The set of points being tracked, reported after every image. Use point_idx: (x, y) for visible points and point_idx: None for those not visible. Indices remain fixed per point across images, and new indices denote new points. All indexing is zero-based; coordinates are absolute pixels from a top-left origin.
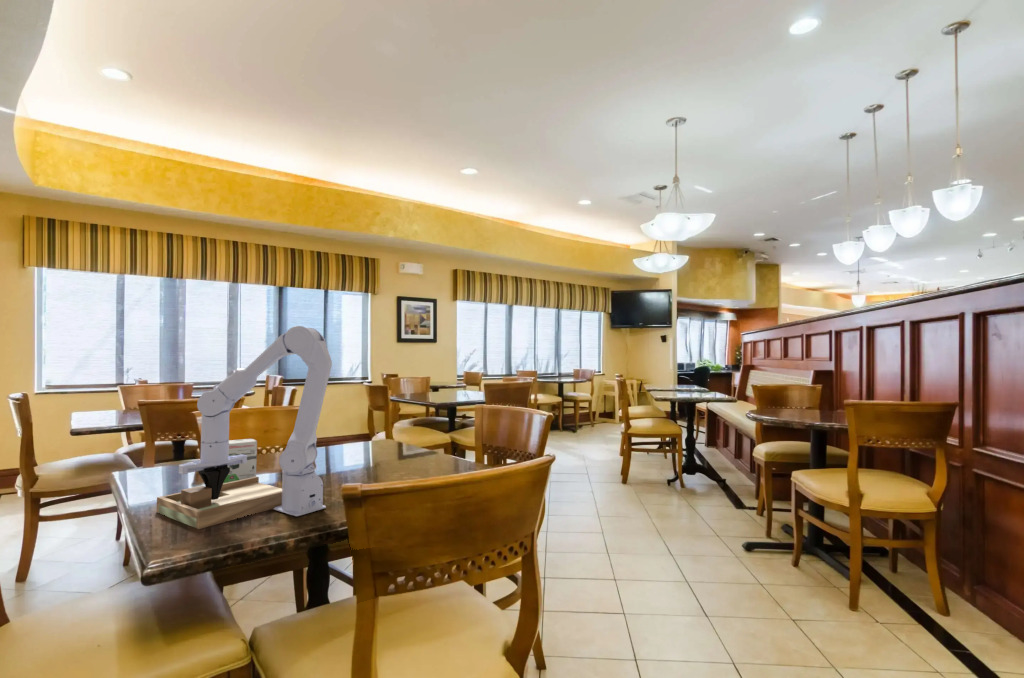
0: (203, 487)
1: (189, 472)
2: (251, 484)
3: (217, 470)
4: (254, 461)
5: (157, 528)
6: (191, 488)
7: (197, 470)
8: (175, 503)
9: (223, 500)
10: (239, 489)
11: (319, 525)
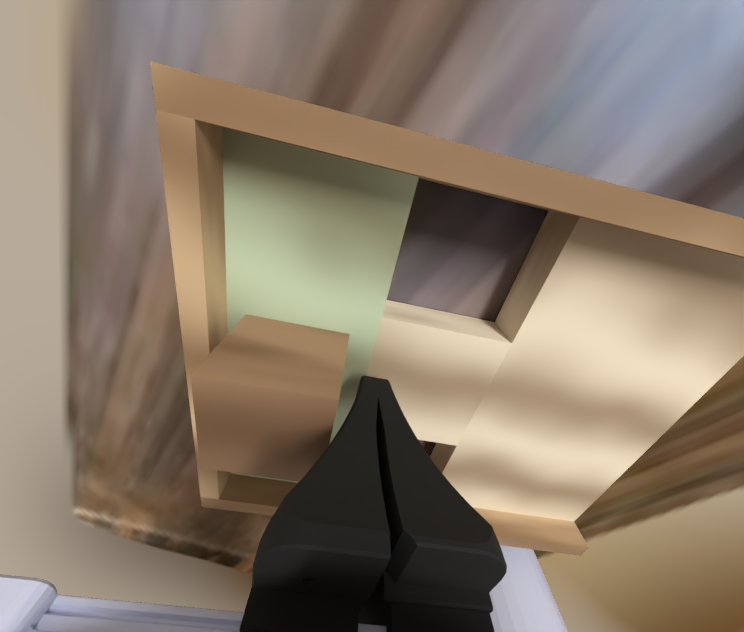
0: (311, 439)
1: (100, 612)
2: None
3: (362, 618)
4: None
5: (143, 347)
6: (254, 400)
7: (183, 626)
8: (189, 349)
9: (413, 392)
10: (627, 304)
11: None
